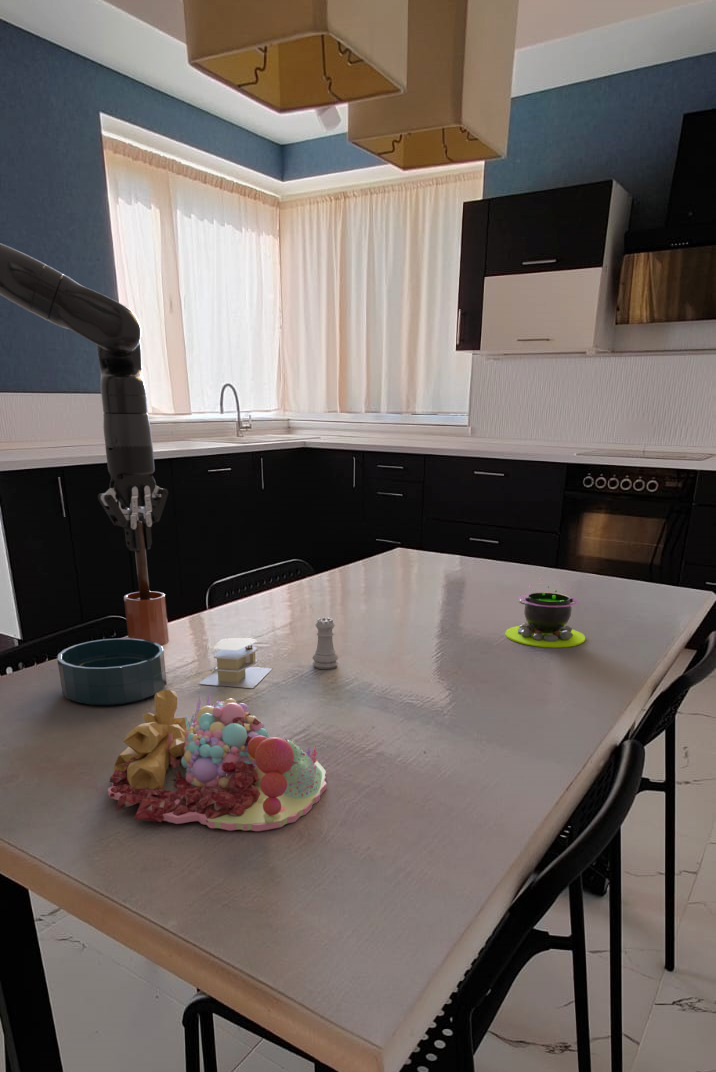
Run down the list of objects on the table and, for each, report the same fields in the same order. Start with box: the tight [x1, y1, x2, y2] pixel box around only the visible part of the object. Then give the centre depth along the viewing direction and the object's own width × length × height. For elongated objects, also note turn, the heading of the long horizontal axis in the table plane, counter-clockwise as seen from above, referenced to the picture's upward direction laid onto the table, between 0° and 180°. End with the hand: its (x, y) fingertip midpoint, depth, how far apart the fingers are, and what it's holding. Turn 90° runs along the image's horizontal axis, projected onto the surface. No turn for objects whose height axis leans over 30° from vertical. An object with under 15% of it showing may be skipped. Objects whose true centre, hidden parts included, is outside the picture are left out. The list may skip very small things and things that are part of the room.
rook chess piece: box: [311, 617, 339, 670], centre depth 128 cm, size 4×4×8 cm
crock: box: [123, 590, 170, 646], centre depth 138 cm, size 7×7×9 cm
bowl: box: [56, 637, 168, 706], centre depth 117 cm, size 15×15×6 cm
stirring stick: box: [134, 519, 152, 600], centre depth 135 cm, size 3×2×18 cm, turn 54°
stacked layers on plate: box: [198, 637, 273, 689], centre depth 123 cm, size 10×9×6 cm
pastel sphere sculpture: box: [107, 688, 327, 832], centre depth 88 cm, size 25×24×9 cm
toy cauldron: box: [505, 576, 586, 649], centre depth 145 cm, size 15×15×11 cm
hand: (139, 549), depth 133 cm, fingers closed on stirring stick, 2 cm apart
